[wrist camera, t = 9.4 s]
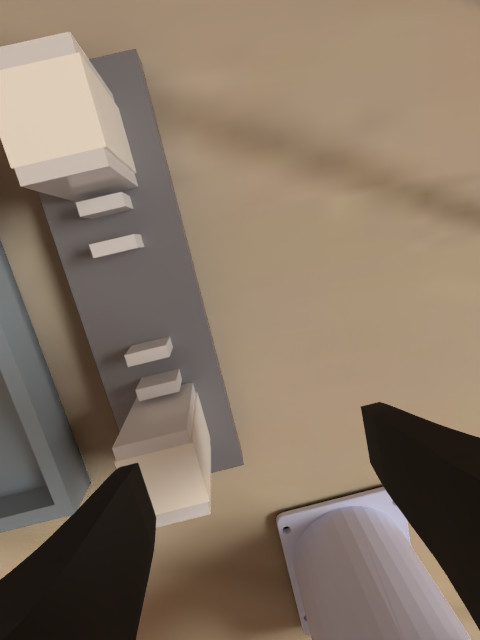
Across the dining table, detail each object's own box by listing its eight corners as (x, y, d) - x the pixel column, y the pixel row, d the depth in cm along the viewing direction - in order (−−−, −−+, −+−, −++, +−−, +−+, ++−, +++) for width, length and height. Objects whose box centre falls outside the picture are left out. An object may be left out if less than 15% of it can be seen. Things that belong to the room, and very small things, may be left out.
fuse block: (242, 452, 22) (246, 483, 19) (143, 477, 22) (133, 511, 19) (140, 61, 17) (127, 28, 14) (13, 90, 17) (-24, 62, 14)
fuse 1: (140, 186, 17) (111, 165, 12) (73, 202, 17) (17, 187, 12) (114, 93, 16) (72, 30, 11) (43, 109, 16) (-29, 53, 11)
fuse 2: (213, 447, 20) (213, 513, 15) (156, 461, 20) (138, 532, 15) (194, 381, 19) (188, 429, 15) (135, 396, 19) (109, 448, 14)
